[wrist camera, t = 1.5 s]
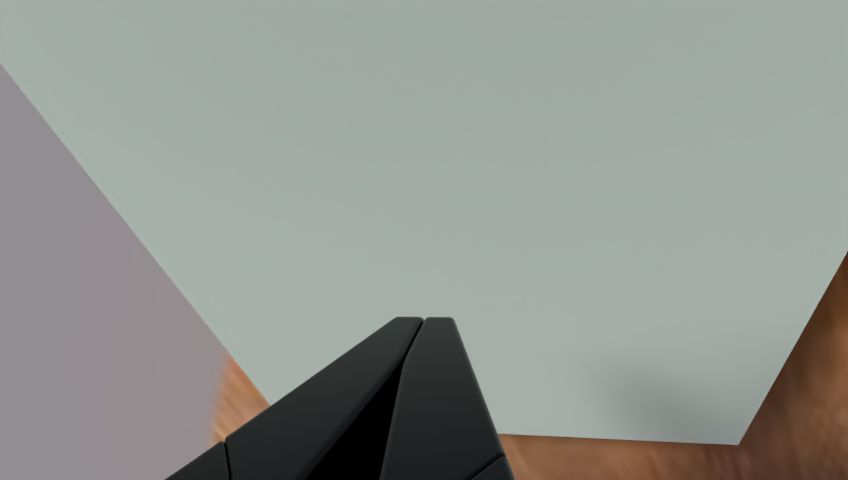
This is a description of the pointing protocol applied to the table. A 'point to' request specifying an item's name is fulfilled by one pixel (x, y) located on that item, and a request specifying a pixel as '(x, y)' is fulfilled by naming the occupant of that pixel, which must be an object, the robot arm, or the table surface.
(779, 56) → the lid
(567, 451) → the table surface
